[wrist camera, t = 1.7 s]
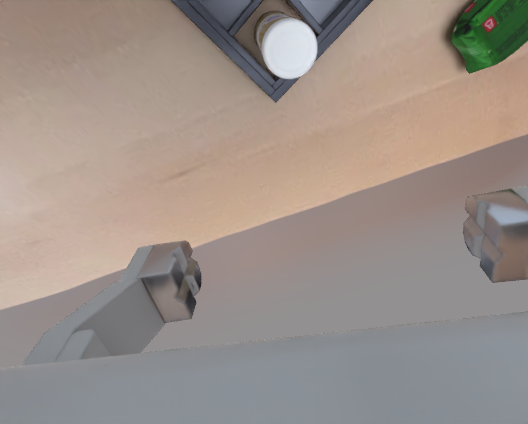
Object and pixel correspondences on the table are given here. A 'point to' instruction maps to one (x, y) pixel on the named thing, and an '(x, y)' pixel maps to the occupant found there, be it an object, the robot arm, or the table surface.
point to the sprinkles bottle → (285, 44)
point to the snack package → (490, 32)
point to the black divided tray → (240, 9)
